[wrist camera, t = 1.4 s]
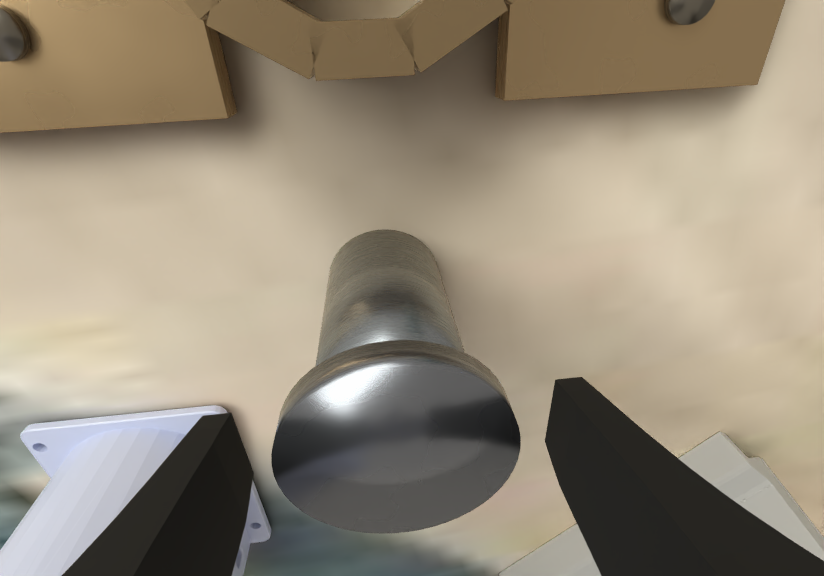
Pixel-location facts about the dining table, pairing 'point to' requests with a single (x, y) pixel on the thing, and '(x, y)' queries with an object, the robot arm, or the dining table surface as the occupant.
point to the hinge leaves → (355, 51)
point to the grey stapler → (726, 470)
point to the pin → (392, 401)
